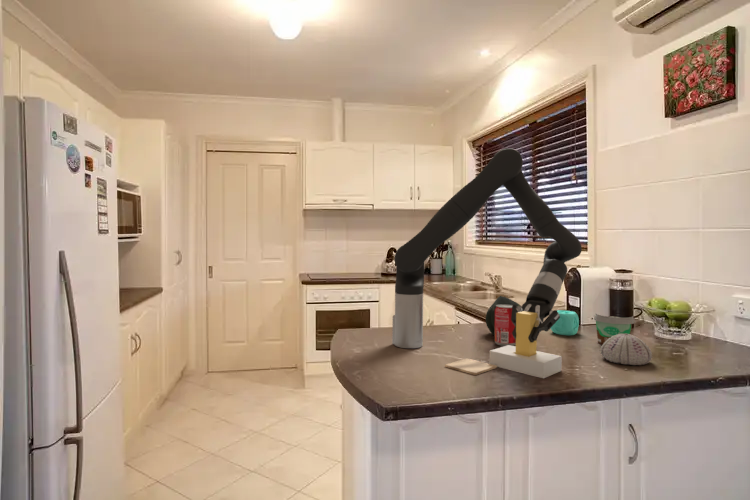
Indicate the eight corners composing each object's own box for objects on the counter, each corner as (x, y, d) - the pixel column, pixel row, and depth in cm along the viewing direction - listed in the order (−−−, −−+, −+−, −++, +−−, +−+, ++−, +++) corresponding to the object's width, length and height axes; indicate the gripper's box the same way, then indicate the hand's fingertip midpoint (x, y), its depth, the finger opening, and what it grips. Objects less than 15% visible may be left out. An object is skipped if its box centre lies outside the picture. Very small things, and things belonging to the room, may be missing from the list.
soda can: (517, 347, 147) (518, 307, 146) (494, 346, 148) (495, 306, 148) (515, 342, 153) (516, 304, 153) (493, 341, 155) (494, 303, 154)
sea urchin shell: (658, 370, 124) (659, 341, 123) (604, 365, 128) (604, 337, 127) (645, 357, 136) (645, 331, 136) (595, 353, 140) (596, 328, 140)
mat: (444, 366, 124) (444, 364, 124) (466, 360, 131) (466, 358, 131) (475, 375, 117) (475, 373, 117) (496, 367, 124) (496, 365, 124)
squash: (536, 326, 154) (526, 290, 163) (492, 327, 154) (484, 291, 164) (526, 346, 165) (517, 311, 174) (485, 347, 165) (479, 312, 175)
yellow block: (515, 363, 124) (516, 312, 124) (522, 360, 127) (523, 311, 126) (528, 366, 121) (530, 314, 121) (536, 363, 124) (537, 313, 123)
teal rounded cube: (578, 333, 170) (579, 312, 170) (571, 336, 164) (572, 314, 164) (557, 330, 175) (557, 309, 175) (549, 333, 169) (550, 312, 169)
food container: (594, 346, 150) (595, 316, 149) (592, 342, 155) (593, 313, 155) (636, 350, 145) (637, 319, 145) (633, 345, 151) (634, 316, 150)
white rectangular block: (489, 364, 126) (489, 350, 126) (508, 358, 133) (508, 345, 133) (543, 378, 115) (544, 362, 115) (561, 370, 121) (561, 356, 121)
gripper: (517, 280, 133) (494, 326, 126) (565, 284, 123) (543, 335, 115) (526, 296, 137) (504, 342, 129) (573, 302, 127) (552, 352, 119)
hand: (522, 338), depth 122 cm, fingers closed on yellow block, 4 cm apart
